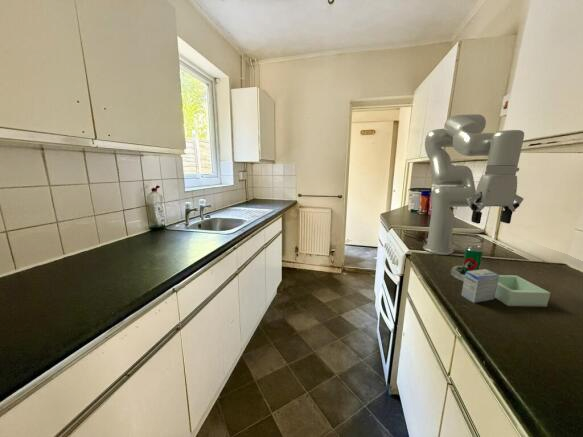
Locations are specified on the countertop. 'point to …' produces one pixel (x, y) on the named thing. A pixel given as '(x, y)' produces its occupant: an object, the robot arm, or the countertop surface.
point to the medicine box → (480, 285)
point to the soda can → (472, 258)
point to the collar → (457, 272)
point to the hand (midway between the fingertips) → (490, 222)
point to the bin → (520, 292)
